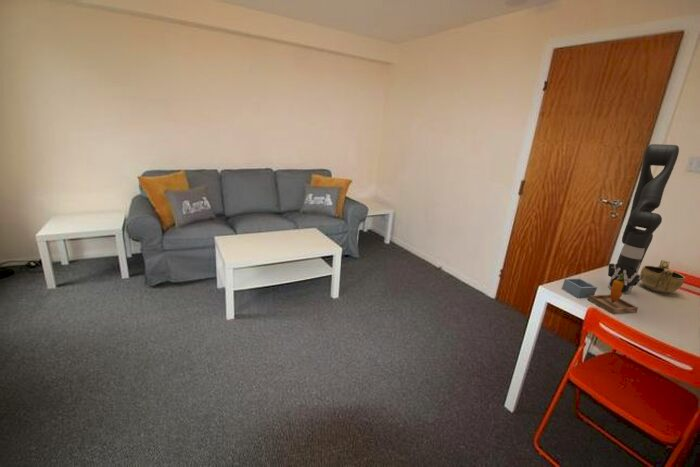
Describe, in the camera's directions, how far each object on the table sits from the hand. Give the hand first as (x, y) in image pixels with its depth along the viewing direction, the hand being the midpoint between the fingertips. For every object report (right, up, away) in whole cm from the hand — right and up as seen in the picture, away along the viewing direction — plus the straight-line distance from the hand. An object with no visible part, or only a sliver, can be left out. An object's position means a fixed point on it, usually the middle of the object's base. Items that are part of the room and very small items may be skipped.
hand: (617, 289), depth 154 cm
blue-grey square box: (-10, -4, +13) cm, 17 cm away
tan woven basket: (+42, -5, +27) cm, 50 cm away
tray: (-1, -8, +3) cm, 9 cm away
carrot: (-1, -7, +2) cm, 7 cm away
